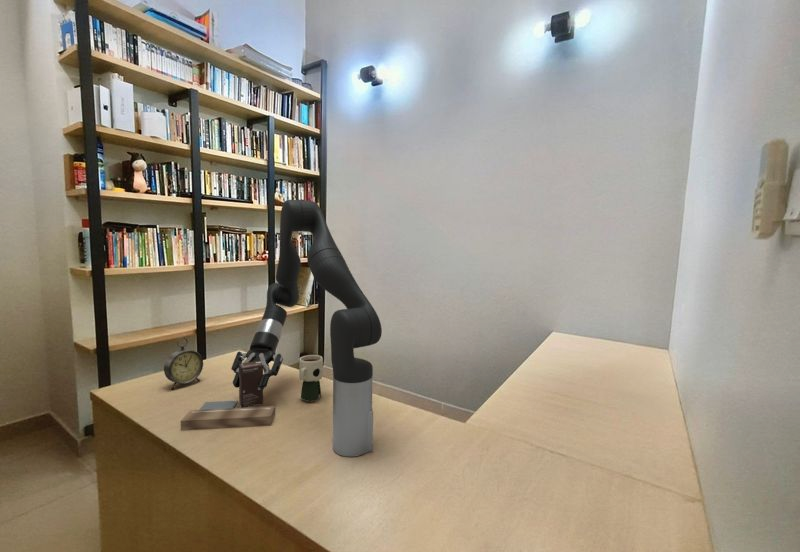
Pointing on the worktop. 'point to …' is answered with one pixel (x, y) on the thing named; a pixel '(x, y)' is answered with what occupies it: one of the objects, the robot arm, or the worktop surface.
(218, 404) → the grey mat
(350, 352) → the robot arm
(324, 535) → the worktop surface
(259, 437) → the worktop surface
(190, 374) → the alarm clock
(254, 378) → the box
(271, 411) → the walnut board
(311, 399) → the character mug
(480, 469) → the worktop surface
